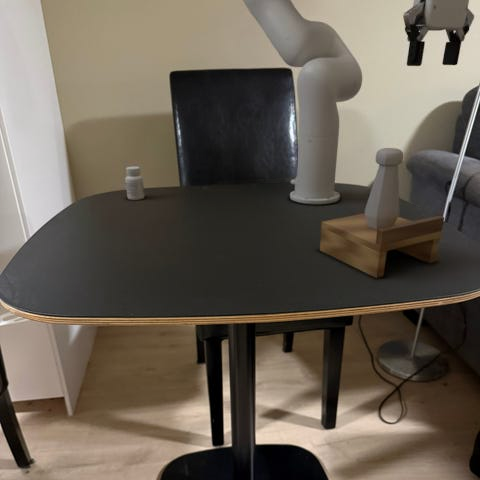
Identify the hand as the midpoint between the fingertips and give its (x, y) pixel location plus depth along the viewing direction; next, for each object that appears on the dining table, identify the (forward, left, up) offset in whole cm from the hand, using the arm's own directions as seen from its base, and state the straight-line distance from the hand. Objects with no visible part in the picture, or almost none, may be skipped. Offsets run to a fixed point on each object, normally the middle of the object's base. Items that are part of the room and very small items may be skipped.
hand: (432, 65), depth 93 cm
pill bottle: (-49, -46, -30) cm, 74 cm away
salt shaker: (+14, -22, -25) cm, 36 cm away
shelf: (+14, -22, -30) cm, 40 cm away
